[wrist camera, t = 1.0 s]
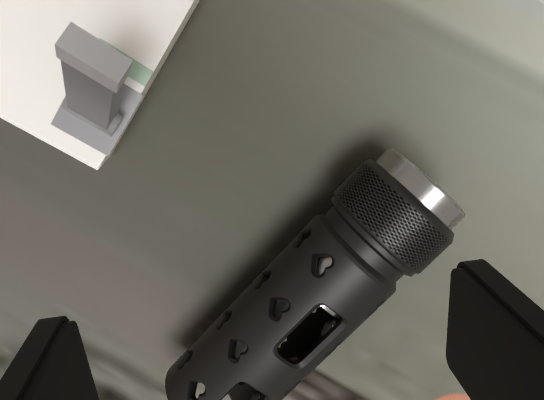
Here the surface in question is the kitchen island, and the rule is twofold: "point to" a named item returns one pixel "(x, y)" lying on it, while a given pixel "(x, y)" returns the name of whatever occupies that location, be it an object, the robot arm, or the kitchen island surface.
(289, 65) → the kitchen island surface
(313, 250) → the muzzle brake
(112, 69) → the lever
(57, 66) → the panel
